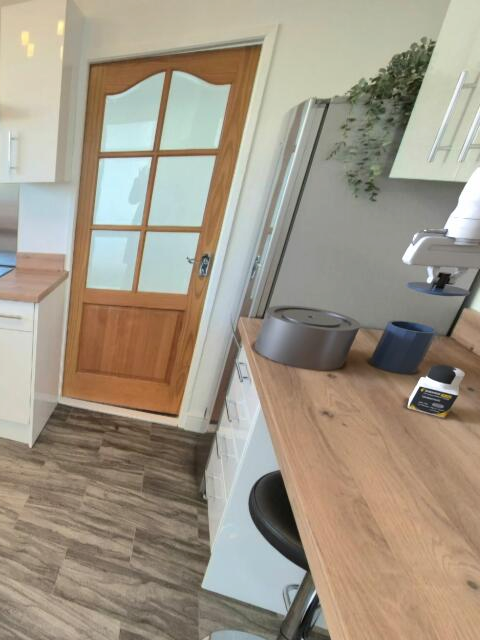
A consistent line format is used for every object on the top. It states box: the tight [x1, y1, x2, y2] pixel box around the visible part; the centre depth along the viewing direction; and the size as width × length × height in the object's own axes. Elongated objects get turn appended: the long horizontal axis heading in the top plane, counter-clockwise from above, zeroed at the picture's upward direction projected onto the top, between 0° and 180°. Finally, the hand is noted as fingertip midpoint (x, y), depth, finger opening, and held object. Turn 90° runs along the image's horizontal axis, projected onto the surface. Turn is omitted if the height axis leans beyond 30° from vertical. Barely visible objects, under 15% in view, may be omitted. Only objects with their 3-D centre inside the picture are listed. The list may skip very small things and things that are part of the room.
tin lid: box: [406, 271, 471, 297], centre depth 115 cm, size 12×12×5 cm
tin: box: [369, 320, 439, 375], centre depth 135 cm, size 11×11×14 cm
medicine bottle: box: [407, 364, 465, 419], centre depth 111 cm, size 7×7×12 cm
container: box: [254, 305, 361, 371], centre depth 143 cm, size 25×25×13 cm
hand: (440, 283), depth 116 cm, fingers closed on tin lid, 2 cm apart
